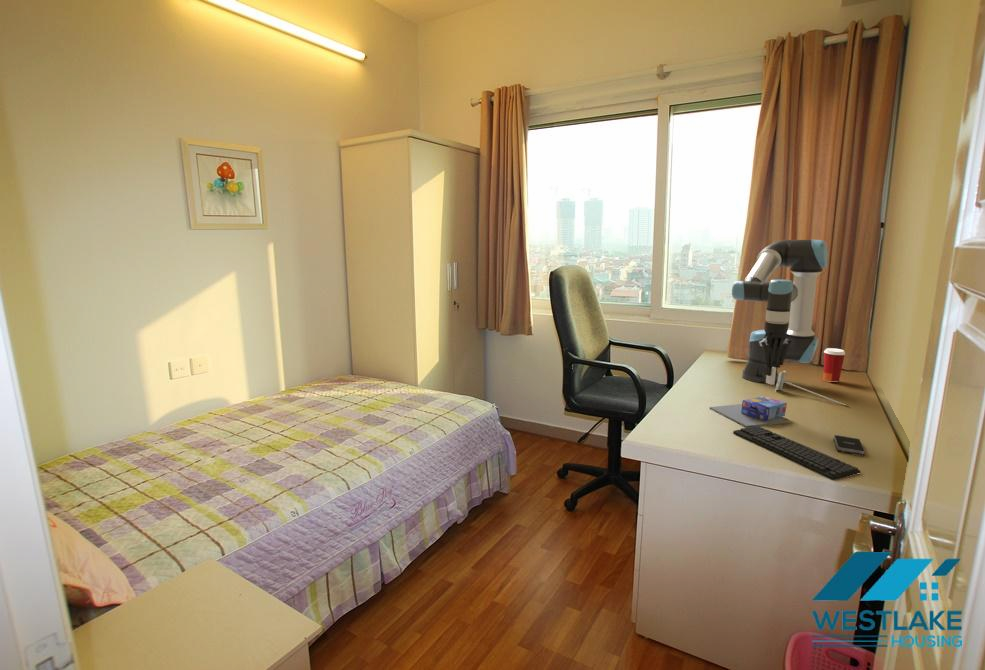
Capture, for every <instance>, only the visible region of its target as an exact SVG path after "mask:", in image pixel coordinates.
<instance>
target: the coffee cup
mask: <svg viewBox="0 0 985 670" xmlns="http://www.w3.org/2000/svg"><path fill="white" fill-rule="evenodd" d="M823 353H824V356H823V357H824V359H823V374H822V377H823V378H822V380H823V379H824V380H827V381H839V382H840V377H841V373H842V369H843V364H844V360H845V355H846V351H845V350H844V349H840V348H833V347H832V348H831V347H827V348H825V349H824V351H823Z"/></svg>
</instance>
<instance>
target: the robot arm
mask: <svg viewBox="0 0 985 670" xmlns="http://www.w3.org/2000/svg"><path fill="white" fill-rule="evenodd" d="M828 259H829V251H828V245H827V242H826V241H825V240H823V239H782V240H777V241H775V242H773V243H770V244H769V245H767V246H765V247H764V248H763V249H761V250H760V252H759V253H758V255H757V257H756V262H755V264H754V265H753V266H752V268H751V270H750V271H749V273H748V274H747V275H746V277H745V278H744V280H736V281H734V282H733V284H732V288H731V295H732V298H733V299H734V300H739V301H748V302H749V301H752V302H766V303H767V305H766V313H765V323H764V329H759V330H754V331H752V332H750V336H749V340H748V342H749V343H748V351H747V352H748V354H747V362H746V364H745V367H744V369H743V370H742V374H741V377H742V378H743V379H745V380H747V381H751V382H756V383H762V382H763V383H764V384H768V385H770V386H771V385H773V386H774V385H775V383H777V382H778V378H779V373H778V369H780V368H781V366H783V365H784V362H785V361H788V362H795V363H798V364H799V363H801V364H803V363H805V364H809V363H811V362H812V360H813V359H814V356H815V354H816V352H817V351H816V350H817V348H818V347H817V346H818V343H819V338H818V337H815V332H814V331H813V330H812V324H813V317H814V316H813V315H814V309H815V308H814V306H815V299H816V288H817V283H818V282H817V281H818V276H819V275H820V274H822V273H823V269H826V268H827V266H828V262H829V261H828ZM779 267H786V268H787V267H789V268H790V273H791V274H793V280H790V279H781V278H780V279H771V280H770V281H768V280H769V278H770V277H771V275H772V273H773V272H774V271H775V269H777V268H779Z"/></svg>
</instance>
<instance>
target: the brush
mask: <svg viewBox="0 0 985 670" xmlns="http://www.w3.org/2000/svg"><path fill="white" fill-rule="evenodd" d="M778 376H779V377H778V381H777V382H776V385H775V388H774V392H777V391H776V390H778V391H779V390H782V391H783V387H784V383H785V384H786V385H788V386H793V387H795V388H798V389H801V390H803V391H806V392H808V393H811V394H814V395H816V396H819V397H821V398H823V399H826V400H828V401H831V402H834V403H836V404H839V405H841V404H843V405H842V406H844V405H846V404H845V403H843V402H841V401H837V400H835V399H832V398H830V397H827V396H824V395H822V394H820V393H817V392H814V391H811V390H809V389H806V388H804V387H802V386H798V385H796V384H794V383H791V382H790V381H786V380H785V379H786V376H787V371H786V370H783V371H781V372H779V373H778Z"/></svg>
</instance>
